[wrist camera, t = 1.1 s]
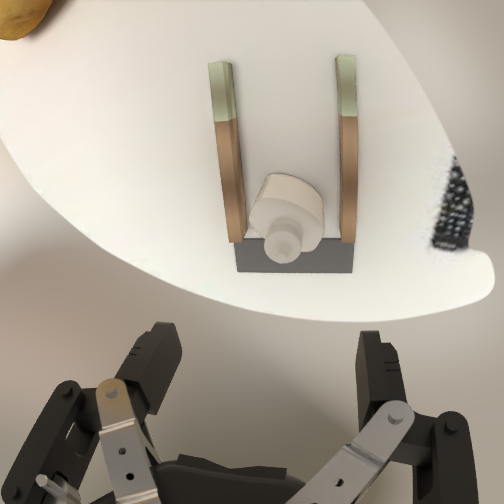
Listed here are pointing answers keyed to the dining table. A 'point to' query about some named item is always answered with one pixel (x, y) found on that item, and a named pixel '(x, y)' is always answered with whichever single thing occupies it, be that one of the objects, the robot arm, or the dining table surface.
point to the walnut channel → (231, 151)
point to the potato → (21, 17)
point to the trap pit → (317, 261)
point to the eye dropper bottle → (287, 217)
